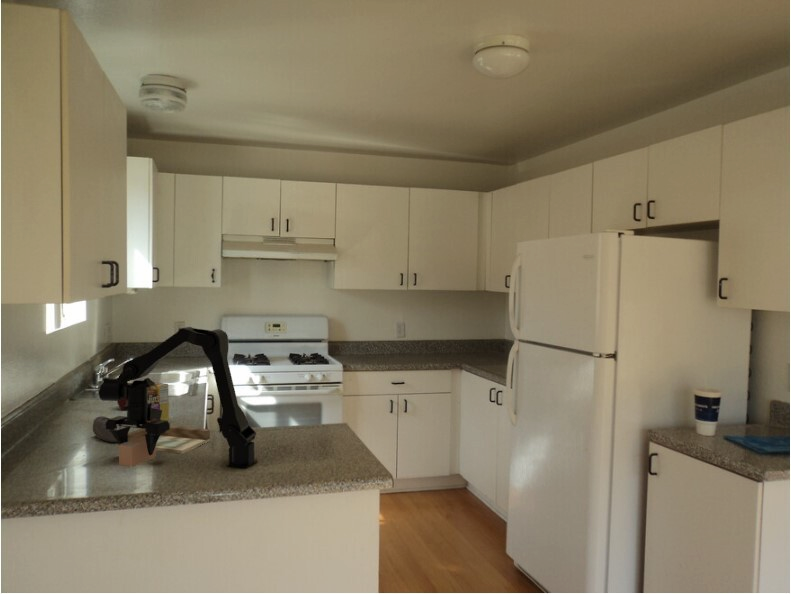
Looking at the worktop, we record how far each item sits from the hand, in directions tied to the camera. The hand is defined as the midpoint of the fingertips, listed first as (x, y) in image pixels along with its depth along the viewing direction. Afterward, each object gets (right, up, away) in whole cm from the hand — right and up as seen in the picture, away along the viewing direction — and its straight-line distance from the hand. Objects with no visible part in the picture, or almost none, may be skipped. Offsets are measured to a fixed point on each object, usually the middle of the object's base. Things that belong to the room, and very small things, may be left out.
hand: (137, 453), depth 177 cm
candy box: (-12, -1, +43) cm, 44 cm away
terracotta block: (0, -2, 0) cm, 2 cm away
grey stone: (-19, -2, +22) cm, 29 cm away
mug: (-34, 0, +67) cm, 75 cm away
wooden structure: (+2, -2, +17) cm, 17 cm away
